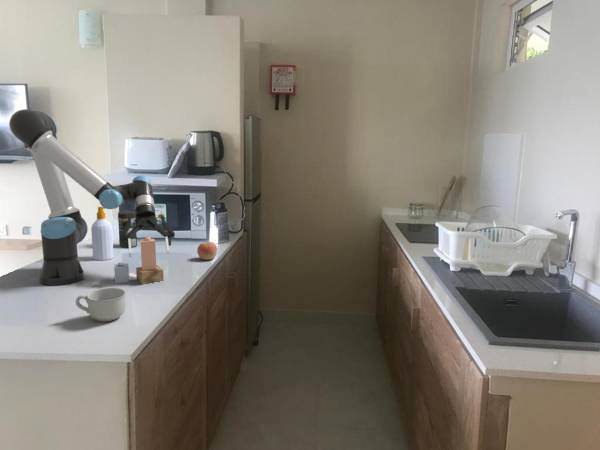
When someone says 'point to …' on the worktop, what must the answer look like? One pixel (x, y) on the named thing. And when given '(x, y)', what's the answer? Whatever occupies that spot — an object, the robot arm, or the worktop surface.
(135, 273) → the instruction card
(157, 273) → the base block
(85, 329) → the worktop surface
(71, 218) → the robot arm
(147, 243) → the terracotta brick
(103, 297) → the teacup
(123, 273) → the slate brick
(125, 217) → the coffee jar
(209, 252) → the apple
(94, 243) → the soap bottle
